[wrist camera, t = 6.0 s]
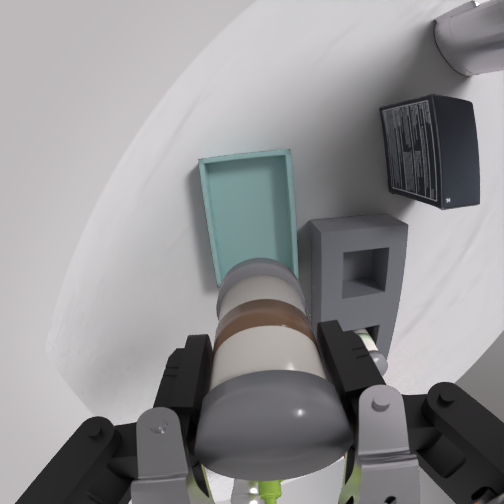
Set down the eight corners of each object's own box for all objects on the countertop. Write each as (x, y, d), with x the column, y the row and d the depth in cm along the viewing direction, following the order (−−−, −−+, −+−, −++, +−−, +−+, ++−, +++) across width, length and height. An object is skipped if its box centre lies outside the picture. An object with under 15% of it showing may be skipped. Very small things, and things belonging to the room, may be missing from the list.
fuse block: (309, 219, 30) (337, 250, 21) (387, 213, 30) (434, 239, 20) (310, 355, 37) (325, 407, 28) (373, 343, 37) (398, 389, 27)
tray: (202, 158, 27) (198, 159, 25) (286, 149, 27) (290, 149, 25) (219, 278, 32) (217, 288, 30) (295, 270, 32) (298, 279, 30)
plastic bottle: (263, 448, 47) (267, 526, 28) (231, 448, 47) (229, 526, 28) (266, 435, 45) (271, 521, 26) (232, 435, 45) (230, 521, 26)
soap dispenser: (274, 403, 41) (284, 507, 22) (284, 422, 43) (295, 514, 24) (241, 410, 42) (241, 511, 23) (255, 428, 44) (258, 519, 25)
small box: (427, 189, 29) (482, 207, 19) (387, 193, 29) (440, 213, 19) (419, 108, 25) (475, 101, 15) (377, 106, 25) (429, 92, 16)
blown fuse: (212, 262, 13) (172, 420, 5) (298, 253, 13) (366, 400, 5) (225, 331, 15) (213, 482, 6) (300, 323, 15) (341, 469, 6)
